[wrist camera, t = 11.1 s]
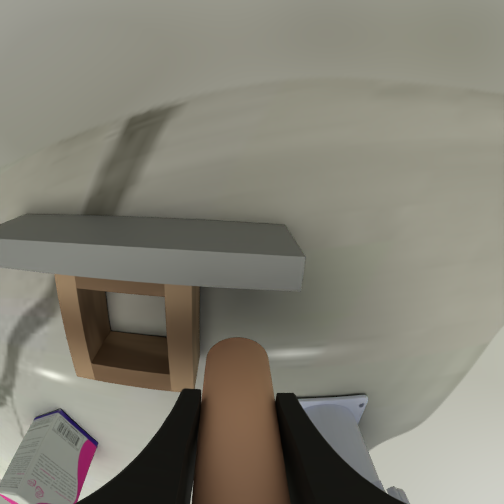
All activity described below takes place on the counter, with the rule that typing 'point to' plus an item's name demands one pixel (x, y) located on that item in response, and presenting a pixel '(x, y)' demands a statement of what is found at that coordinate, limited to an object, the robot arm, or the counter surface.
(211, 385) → the dowel
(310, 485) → the robot arm
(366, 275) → the counter surface
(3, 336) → the counter surface
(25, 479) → the supplement box
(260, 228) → the wall
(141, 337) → the socket block
